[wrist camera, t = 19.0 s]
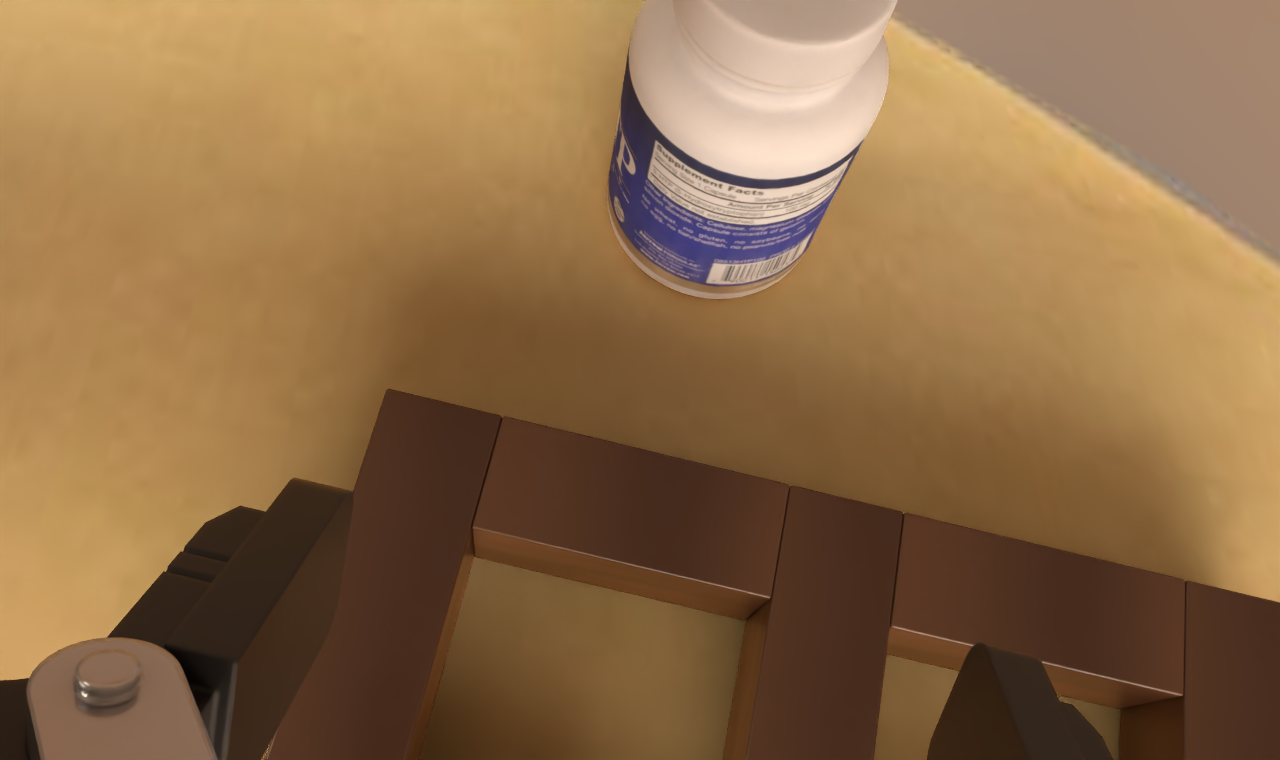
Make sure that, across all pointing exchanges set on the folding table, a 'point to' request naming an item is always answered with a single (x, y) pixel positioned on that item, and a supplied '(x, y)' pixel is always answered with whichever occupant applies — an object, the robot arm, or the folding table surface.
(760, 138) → the pill bottle
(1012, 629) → the peg board
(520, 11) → the folding table surface
